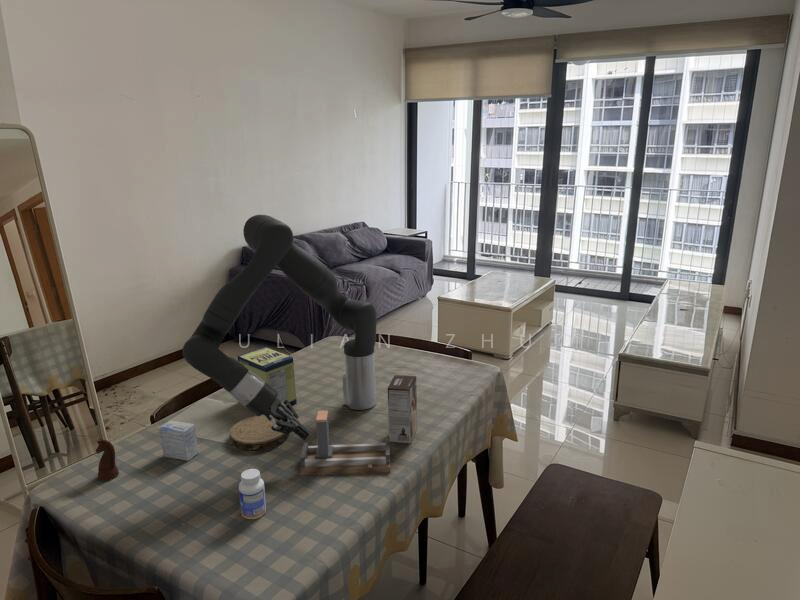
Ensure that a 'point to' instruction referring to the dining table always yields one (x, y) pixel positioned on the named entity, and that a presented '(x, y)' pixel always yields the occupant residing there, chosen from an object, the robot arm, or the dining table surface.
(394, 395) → the coffee box
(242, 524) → the dining table surface
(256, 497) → the pill bottle
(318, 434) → the fader tab
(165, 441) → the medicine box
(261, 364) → the protein box
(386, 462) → the board
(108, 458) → the chess piece
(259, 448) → the brown round disc
